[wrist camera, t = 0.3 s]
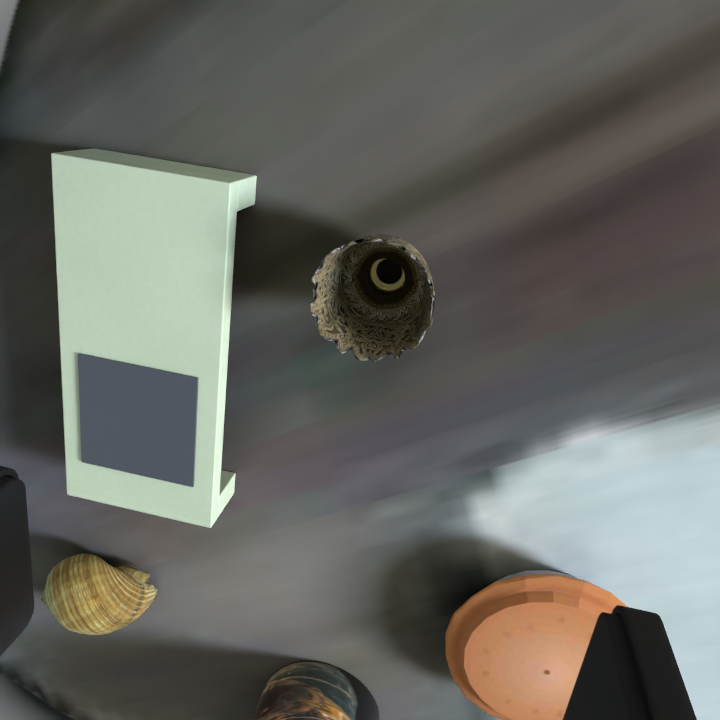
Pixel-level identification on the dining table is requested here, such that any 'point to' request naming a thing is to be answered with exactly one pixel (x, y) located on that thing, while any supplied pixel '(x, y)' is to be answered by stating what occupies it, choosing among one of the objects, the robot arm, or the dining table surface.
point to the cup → (373, 298)
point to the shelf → (145, 328)
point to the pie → (524, 642)
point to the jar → (315, 695)
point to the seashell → (96, 594)
